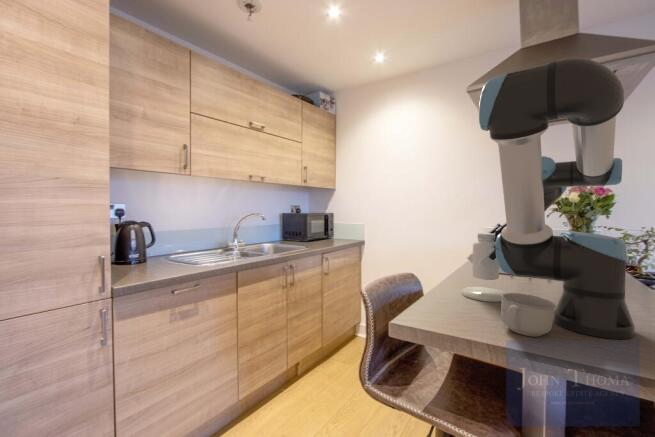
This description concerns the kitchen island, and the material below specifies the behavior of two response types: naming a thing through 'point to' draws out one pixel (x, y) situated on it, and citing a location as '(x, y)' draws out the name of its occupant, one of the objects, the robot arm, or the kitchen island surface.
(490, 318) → the kitchen island surface
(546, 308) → the teacup
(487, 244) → the pill bottle
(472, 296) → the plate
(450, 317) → the kitchen island surface
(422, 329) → the kitchen island surface
